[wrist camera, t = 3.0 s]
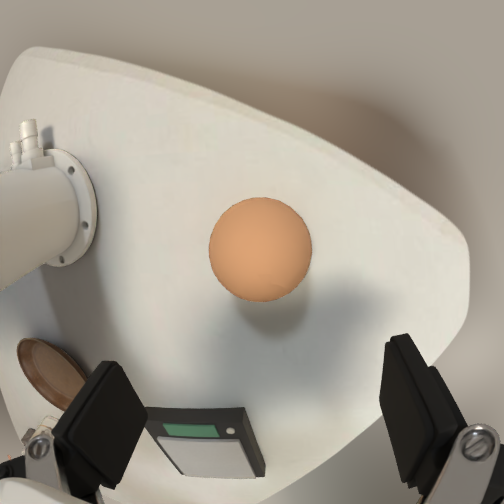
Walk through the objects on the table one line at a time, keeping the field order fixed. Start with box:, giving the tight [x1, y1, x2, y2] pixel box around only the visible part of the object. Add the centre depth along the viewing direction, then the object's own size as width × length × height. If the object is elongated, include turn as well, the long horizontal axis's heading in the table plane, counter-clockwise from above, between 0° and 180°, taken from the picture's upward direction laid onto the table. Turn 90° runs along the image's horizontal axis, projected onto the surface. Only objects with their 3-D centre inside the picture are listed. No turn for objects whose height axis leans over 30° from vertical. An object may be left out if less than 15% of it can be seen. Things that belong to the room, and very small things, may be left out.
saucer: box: [17, 338, 87, 412], centre depth 33 cm, size 15×15×3 cm
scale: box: [144, 407, 265, 479], centre depth 34 cm, size 16×14×3 cm
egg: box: [209, 198, 312, 302], centre depth 21 cm, size 7×7×8 cm
